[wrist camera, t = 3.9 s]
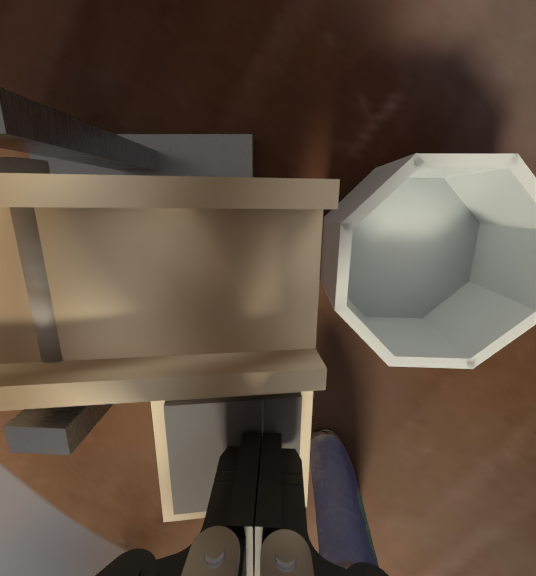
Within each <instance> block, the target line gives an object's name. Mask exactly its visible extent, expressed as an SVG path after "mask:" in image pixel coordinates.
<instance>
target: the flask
mask: <svg viewBox="0 0 536 576" xmlns="http://www.w3.org/2000/svg"><path fill="white" fill-rule="evenodd" d="M321 431H325V432H327V433H329V434H327V433H325V432H321ZM321 431H318V432H314V433H312V434H311V441H310V463H311V473H312V482H313V490H314V501H315V509H316V522H317V533H318V544H319V554H320V555H321V556H322V557H323V558H324V559H326V560H328V561H329V562H331V563H334V564H336V565H338V566H340V567H343V568H345V569H348V567H350V566H351V565H353V564H355V563H358V562H367V563H371V564H373V565H375V566H377V567H379V566H378V562H377V558H376V554H375V550H374V546H373V542H372V538H371V534H370V529H369V526H368V522H367V518H366V514H365V510H364V506H363V502H362V496H361V494H360V489H359V485H358V478H357V477H356V475H355V472H354V468H353V465H352V462H351V459H350V458H349V455H348V454H349V453H348V451H347V450H346V448H345V445H344V442H342V440H341V439H340V437H339V435H337V433H336V434H335V432H334V431H331V430H328V429H323V430H321Z"/></svg>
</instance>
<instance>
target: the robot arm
mask: <svg viewBox="0 0 536 576" xmlns="http://www.w3.org/2000/svg"><path fill="white" fill-rule="evenodd" d="M254 569H255V576H388V575H387V574H386V573H385V572H384V571H383V570H382V569H380V568H379V567H377V566H375V565H373V564H371V563H367V562H358V563H355V564H353V565H351V566H350V567H348V569H345V568H343V567H340V566H338V565H336V564H334V563H331V562H329V561H328V560H326V559H324V558H323V557H322V556H321V555H320V554H318V552H317V551H316V550H315V549H314V547H313V546H312V544H311V542H310V540H309V537H308V532H307V521H306V508H305V495H304V482H303V469H302V460H301V458H300V456H299V454H298V453H297V451H296V449H291V448H282V433H269V432H263V436H262V432H243V433H242V438H241V444H240V447H239V446H228V447H227V448H226V449H225V451H224V452H223V453H222V455H221V456H220V458H219V462H218V466H217V471H216V474H215V478H214V483H213V487H212V491H211V495H210V499H209V503H208V507H207V511H206V515H205V519H204V523H203V527H202V530H201V532H200V534H199V535H198V536H197V537H196V538H195V540H194V541H193V543H192V544H191V545H190V546H189V547H187V548H186V549H185V550H183V551H181V552H179V553H176V554H174V555H170V556H167V557H164V558H161V559H157V560H156V559H155V557H154V555H153V554H152V553H151V552H149V551H148V550H145V549H133V550H130V551H127V552H125V553H123V554H121V555H120V556H119V557H117V558H116V559H115V560H114V561H112V562H111V563H110V564H109V565H107V566H106V567H105V568H104V569H103V570H102V571H100V572H99V573H98V574H97V575H96V576H254Z"/></svg>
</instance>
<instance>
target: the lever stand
mask: <svg viewBox="0 0 536 576" xmlns="http://www.w3.org/2000/svg"><path fill="white" fill-rule="evenodd" d="M0 148H4V149H10V150H15V151H20V152H25V153H29V158H30V159H38V160H45V161H48V164H49V170H50V174H88V175H141V176H195V177H249V178H255V167H254V137H253V135H252V134H114V133H112V132H109V131H107V130H104V129H102V128H99V127H97V126H94V125H92V124H89V123H87V122H84V121H82V120H80V119H77V118H75V117H72V116H70V115H67V114H65V113H62V112H60V111H57V110H55V109H52V108H50V107H47V106H45V105H42V104H40V103H37V102H35V101H33V100H30V99H28V98H25V97H23V96H20V95H18V94H15V93H13V92H10V91H8V90H5V89H3V88H0ZM112 405H113V404H100V405H84V406H69V407H53V408H38V409H24V410H23V411H22V412H21V413H19V414H18V415H17V416H16V417H14V418H13V419H12V420H11V421H9V422H8V423H7V424H6V425H4V426H3V427H4V430H5V434H6V438H7V442H8V446H9V449H10V452H16V453H37V454H58V455H71V454H72V452H73V451H74V450H75V449H76V448H77V446H78V445H79V444H80V443H81V442H82V440H83V439H84V438H85V437H86V436H87V435H88V433H89V432H90V431H91V430H92V429H93V427H94V426H95V425H96V424H97V423H98V421H99V420H100V419H101V418H102V417H103V416H104V414H105V413H106V412H107V411H108V410H109V408H110V407H111V406H112Z"/></svg>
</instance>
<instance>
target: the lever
mask: <svg viewBox="0 0 536 576" xmlns="http://www.w3.org/2000/svg"><path fill="white" fill-rule="evenodd" d="M339 186H340V179H302V178H249V177H195V176H141V175H88V174H50V170H49V164H48V161H45V160H38V159H29V158H14V157H0V411H7V410H22V409H38V408H53V407H69V406H84V405H100V404H116V403H131V402H147V401H151V409H152V418H153V427H154V437H155V446H156V455H157V464H158V474H159V483H160V492H161V502H162V511H163V520H164V522H170V521H179V520H188V519H197V518H205V515H206V511H207V507H208V503H209V499H210V495H211V491H212V487H213V483H214V478H215V474H216V471H217V466H218V462H219V458H220V456H221V455H222V453H223V452H224V451H225V449H226V448H227V447H228V446H239V447H240V444H241V438H242V433H243V432H262V436H263V432H269V433H282V448H291V449H296V451H297V453H298V454H299V456H300V458H301V460H302V469H303V482H304V495H305V507H307V495H308V477H309V459H310V441H311V423H312V405H313V391H318V390H326V378H327V367H326V366H325V364H324V362H323V361H322V359H321V357H320V355H319V354H318V352H317V350H316V333H317V314H318V296H319V278H320V260H321V242H322V224H323V209H338V201H339Z"/></svg>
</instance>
